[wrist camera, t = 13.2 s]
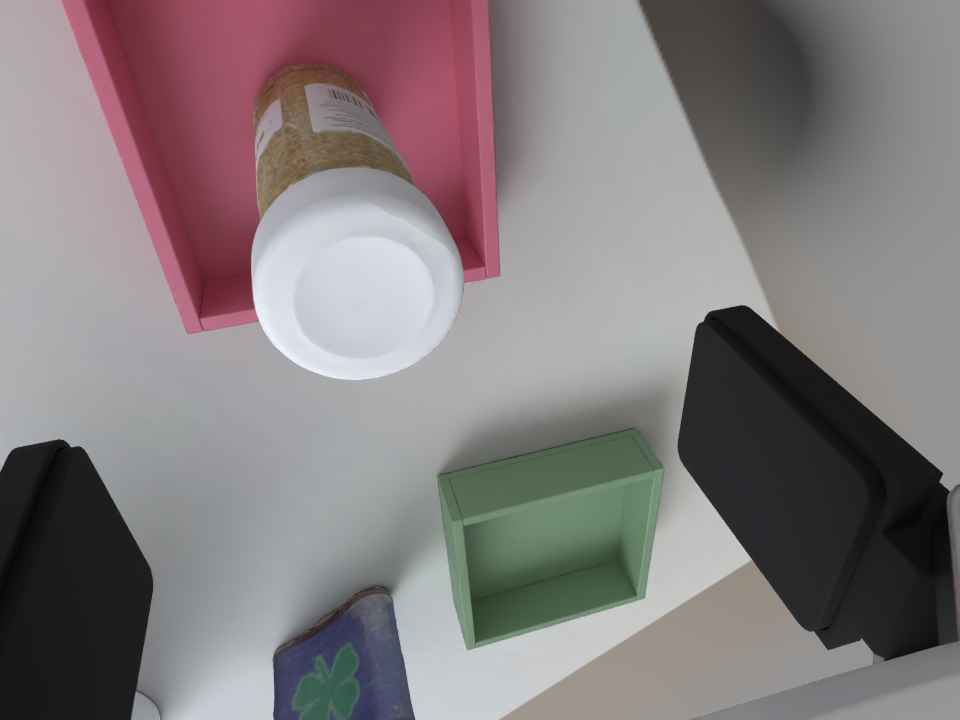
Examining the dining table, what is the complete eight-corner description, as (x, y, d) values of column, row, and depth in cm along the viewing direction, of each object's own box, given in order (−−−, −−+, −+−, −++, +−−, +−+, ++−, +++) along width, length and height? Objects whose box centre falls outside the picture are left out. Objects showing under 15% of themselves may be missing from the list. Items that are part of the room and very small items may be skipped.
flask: (374, 579, 41) (406, 759, 32) (403, 597, 42) (441, 772, 34) (261, 657, 42) (264, 850, 34) (294, 671, 44) (304, 857, 35)
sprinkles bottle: (224, 109, 23) (199, 287, 13) (327, 31, 23) (390, 149, 12) (308, 207, 26) (345, 420, 16) (402, 140, 26) (505, 311, 15)
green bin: (636, 427, 39) (665, 467, 37) (621, 557, 47) (644, 598, 44) (437, 475, 37) (451, 521, 34) (454, 604, 44) (467, 651, 42)
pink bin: (457, -87, 22) (485, -84, 20) (477, 241, 30) (500, 276, 27) (70, -57, 20) (41, -49, 17) (193, 290, 27) (187, 335, 25)
